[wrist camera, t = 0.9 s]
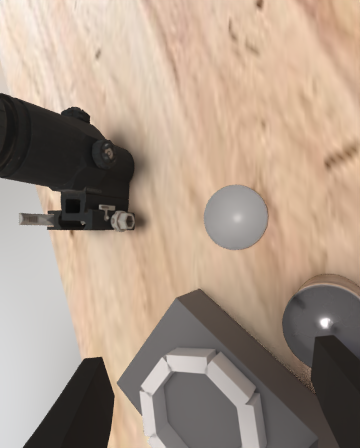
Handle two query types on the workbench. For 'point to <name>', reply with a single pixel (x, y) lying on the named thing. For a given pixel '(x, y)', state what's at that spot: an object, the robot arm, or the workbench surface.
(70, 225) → the scope
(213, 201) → the grey domed disc
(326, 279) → the lens
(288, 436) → the camera body
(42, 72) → the workbench surface
